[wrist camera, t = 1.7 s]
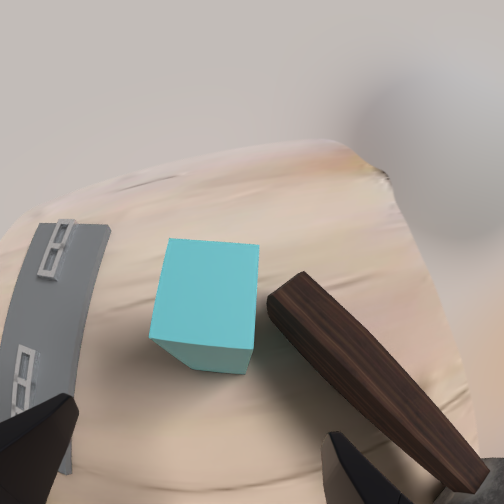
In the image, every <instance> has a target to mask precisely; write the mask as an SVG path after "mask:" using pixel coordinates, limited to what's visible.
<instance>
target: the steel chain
mask: <svg viewBox="0 0 504 504" xmlns="http://www.w3.org/2000/svg"><path fill="white" fill-rule="evenodd" d="M77 226H78V223H77V221H76V220H75V219H59V220H58V222H57V224H56V227H55V229H54V231H53V234H52V236H51V238H50V241H49V243H48V246H47V248H46V251H45V254H44V256H43V259H42V262H41V265H40V267H39V270H38V273H37V275H38V276H39V277H40V278H42V279H48V280H54V281H58V279H59V275H60V272H61V269H62V266H63V263H64V260H65V258H66V255H67V252H68V249H69V247H70V244H71V241H72V239H73V236H74V234H75V231H76V229H77ZM64 228H67V230H66V232H65V235H64V237H63V240H62V242H61V243H58V242H59V239H60V237H61V234H62V232H63V230H64ZM54 252H58V253H57V255H56V258H55V261H54V264H53V267H52V270H51V271H48V269H49V266H50V263H51V260H52V258H53V255H54ZM27 354H28V355H30V358H29V365H28V372H27V380H26V379H24V370H25V363H26V357H27ZM39 359H40V352H38V351H35V350H33V349H30V348H28V347H25V346H23V345H20V344H19V347H18V352H17V359H16V365H15V373H14V382H13V392H12V408H11V417H13V416H15V415H17V414H20V413H22V412H24V411H26V410H28V409H30V408H32V407H34V403H35V391H36V381H37V373H38V366H39ZM23 386H24V387H26V390H25V403H24V409H23V408H22V407H21V399H22V388H23Z"/></svg>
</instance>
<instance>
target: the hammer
mask: <svg viewBox="0 0 504 504" xmlns="http://www.w3.org/2000/svg"><path fill="white" fill-rule="evenodd" d="M266 304H267V310H268V315H269V317H270V319H271V320H272V322H273V323H274V324H275V325H276V326H277V327H278V329H279V330H280V331H281V332H282V333H283V334H284V335H285V337H286V338H287V339H288V340H289V341H290V342H291V343H292V345H293V346H294V347H295V348H296V349H297V350H298V351H299V352H300V353H301V354H302V355H303V356H304V357H305V358H306V360H307V361H308V362H309V363H310V364H311V365H312V366H313V367H314V368H315V369H316V370H317V371H318V372H319V373H320V374H321V375H322V376H323V377H324V378H325V379H326V380H327V381H328V382H329V383H330V384H331V385H332V386H333V387H334V388H335V389H336V390H337V391H338V392H339V393H340V394H341V395H343V396H344V397H345V398H346V399H347V400H348V401H349V402H350V403H351V404H352V405H353V406H354V407H355V408H356V409H358V410H359V411H360V412H361V413H362V414H363V415H364V416H365V417H366V418H367V419H368V420H369V421H371V422H372V423H373V424H374V425H375V426H376V427H377V428H378V429H379V430H381V431H382V432H383V433H384V434H385V435H386V436H387V437H388V438H390V439H391V440H392V441H393V442H394V443H395V444H396V445H397V446H399V447H400V448H401V449H402V450H403V451H404V452H406V453H407V454H408V455H409V456H410V457H411V458H413V459H414V460H415V461H416V462H417V463H418V464H420V465H421V466H422V467H423V468H424V469H426V470H427V471H428V472H429V473H430V474H432V475H433V476H434V477H435V478H437V479H438V480H439V481H440V482H441V483H443V484H444V485H445V486H446V488H445V489H444V490H443V491H442V492H441V494H440V495H439V496H438V497H437V498H436V500H435V501H434V502H433V503H434V504H504V458H484V459H483V458H482V459H481V458H480V457H479V456H478V455H477V453H476V452H475V451H474V450H473V448H472V447H471V446H470V445H469V444H468V442H467V441H466V440H465V439H464V438H463V436H462V435H461V434H460V433H459V432H458V430H457V429H456V428H455V427H454V426H453V425H452V423H451V422H450V421H449V420H448V419H447V418H446V416H445V415H444V414H443V413H442V412H441V411H440V409H439V408H438V407H437V406H436V405H435V404H434V403H433V401H432V400H431V399H430V398H429V397H428V396H427V395H426V393H425V392H424V391H423V390H422V389H421V388H420V387H419V386H418V384H417V383H416V382H415V381H414V380H413V379H412V378H411V377H410V376H409V374H408V373H407V372H406V371H405V370H404V369H403V368H402V367H401V366H400V364H399V363H398V362H397V361H396V360H395V359H394V358H393V357H392V356H391V355H390V354H389V352H388V351H387V350H386V349H385V348H384V347H383V346H382V345H381V344H380V343H379V342H378V341H377V340H376V338H375V337H374V336H373V335H372V334H371V333H370V332H369V331H368V330H367V329H366V328H365V327H364V326H363V325H362V324H361V323H360V322H359V321H357V320H356V319H355V318H354V317H353V316H352V315H351V314H350V313H349V312H348V311H347V310H346V309H345V308H344V307H343V306H341V305H340V304H339V303H338V302H337V301H336V300H335V299H334V298H333V297H332V296H331V295H330V294H329V293H327V292H326V291H325V290H324V289H323V288H322V287H321V286H320V285H319V284H318V283H317V282H315V281H314V280H313V279H312V278H311V277H310V276H309V275H308V274H307V273H306V272H305V271H303V272H300V273H298V274H297V275H295V276H294V277H293V278H291V279H290V280H289V281H287V282H286V283H285V284H283V285H282V286H281V287H279V288H278V289H277V290H275V291H274V292H273V293H271V294H270V295H269V296H268V298H267V303H266Z"/></svg>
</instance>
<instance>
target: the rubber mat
mask: <svg viewBox="0 0 504 504" xmlns="http://www.w3.org/2000/svg"><path fill="white" fill-rule="evenodd" d="M56 224H57V223H39V226H38V228H37V230H36V232H35V235H34V237H33V239H32V242H31V244H30V246H29V249H28V251H27V254H26V257H25V259H24V262H23V265H22V267H21V270H20V273H19V276H18V279H17V282H16V285H15V288H14V292H13V295H12V299H11V302H10V306H9V310H8V313H7V317H6V322H5V326H4V331H3V335H2V341H1V346H0V422H2V421H5V420H7V419H9V418H11V408H12V392H13V382H14V373H15V365H16V359H17V352H18V347H19V344H20V345H23V346H25V347H28V348H30V349H33V350H35V351H38V352H40V359H39V366H38V373H37V381H36V391H35V403H34V406H36V405H38V404H40V403H42V402H44V401H46V400H48V399H50V398H52V397H54V396H56V395H58V394H60V393H67V394H69V395H71V396H72V397H73V398H74V391H75V382H76V374H77V367H78V360H79V354H80V348H81V342H82V337H83V332H84V327H85V322H86V317H87V313H88V309H89V304H90V300H91V296H92V292H93V289H94V285H95V281H96V278H97V274H98V271H99V267H100V264H101V261H102V257H103V254H104V251H105V248H106V245H107V242H108V239H109V236H110V233H111V229H110V227H109V226H108V225H99V224H78V226H77V229H76V231H75V234H74V236H73V239H72V241H71V244H70V247H69V249H68V252H67V255H66V258H65V260H64V263H63V266H62V269H61V272H60V275H59V279H58V281H54V280H48V279H42V278H40V277H39V276H38V275H37V273H38V270H39V267H40V265H41V262H42V259H43V256H44V254H45V251H46V248H47V246H48V243H49V241H50V238H51V236H52V234H53V231H54V229H55V227H56ZM66 230H67V228H64V230H63V232H62V234H61V237H60V239H59V242H58V243H61V242H62V240H63V237H64V235H65V232H66ZM57 253H58V252H54V255H53V258H52V260H51V263H50V266H49V269H48V271H51V270H52V267H53V264H54V261H55V258H56V255H57ZM29 358H30V355H28V354H27V357H26V363H25V370H24V379H26V380H27V372H28V365H29ZM25 390H26V387H24V386H23V388H22V399H21V407H22V408H23V409H24V403H25ZM58 472H60V473H62V474H65V475H69V474H72V461H71V441H70V443H69V446H68V449H67V451H66V453H65V456H64V458H63V460H62V463H61V465H60V467H59V470H58Z"/></svg>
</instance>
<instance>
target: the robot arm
mask: <svg viewBox="0 0 504 504" xmlns="http://www.w3.org/2000/svg"><path fill="white" fill-rule="evenodd" d="M78 416H79V410H78V407H77V405H76V403H75V400H74V398H73V397H72V396H71V395H69V394H67V393H60V394H58V395H56V396H54V397H52V398H50V399H48V400H46V401H44V402H42V403H40V404H38V405H36V406H34V407H32V408H30V409H28V410H26V411H24V412H22V413H20V414H17V415H15V416H13V417H11V418H9V419H7V420H5V421H2V422H0V504H46V501H47V498H48V495H49V493H50V490H51V487H52V485H53V482H54V480H55V477H56V475H57V472H58V470H59V467H60V465H61V463H62V460H63V458H64V456H65V453H66V451H67V449H68V446H69V443H70V441H71V437H72V434H73V431H74V428H75V425H76V422H77V419H78ZM321 456H322V472H323V486H324V492H325V497H326V502H327V504H414V503H413V502H412V501H410V500H409V499H408V498H407V497H406V496H405V495H404V494H403V493H401V492H400V491H399V490H398V489H397V488H396V487H395V486H394V485H393V484H392V483H391V482H390V481H389V480H388V479H387V478H386V477H385V476H384V475H382V474H381V473H380V472H379V471H378V470H377V469H376V468H375V467H374V466H373V465H372V464H371V463H370V462H369V461H368V460H367V459H366V458H365V457H364V456H363V455H362V454H361V453H360V452H359V451H358V450H357V449H356V447H355V446H354V445H353V444H352V443H351V442H350V441H349V440H348V439H347V438H346V437H345V436H344V435H343V434H342V433H341V432H339V431H336V432H329V433H327V435H326V437H325V439H324V441H323V444H322V446H321Z"/></svg>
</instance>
